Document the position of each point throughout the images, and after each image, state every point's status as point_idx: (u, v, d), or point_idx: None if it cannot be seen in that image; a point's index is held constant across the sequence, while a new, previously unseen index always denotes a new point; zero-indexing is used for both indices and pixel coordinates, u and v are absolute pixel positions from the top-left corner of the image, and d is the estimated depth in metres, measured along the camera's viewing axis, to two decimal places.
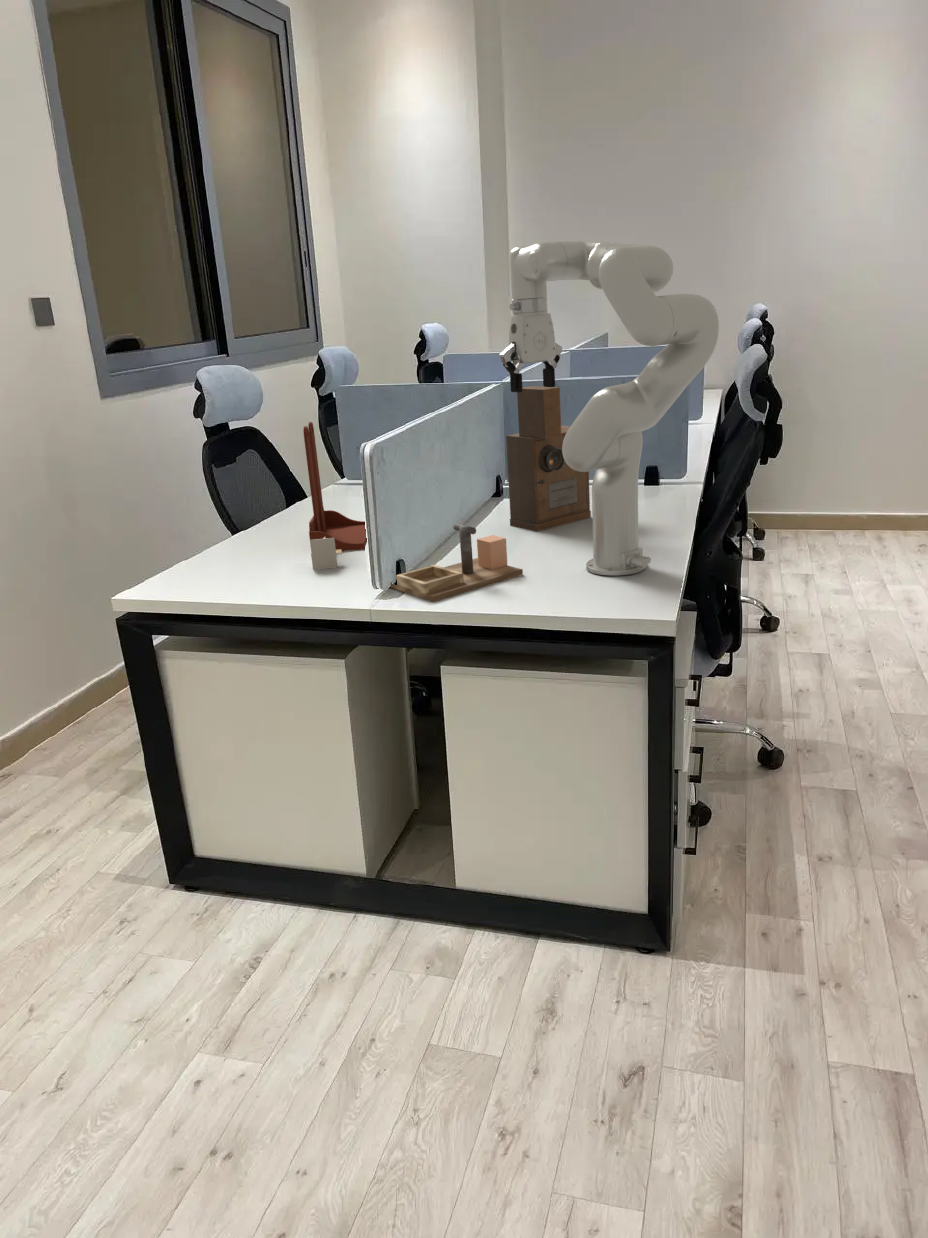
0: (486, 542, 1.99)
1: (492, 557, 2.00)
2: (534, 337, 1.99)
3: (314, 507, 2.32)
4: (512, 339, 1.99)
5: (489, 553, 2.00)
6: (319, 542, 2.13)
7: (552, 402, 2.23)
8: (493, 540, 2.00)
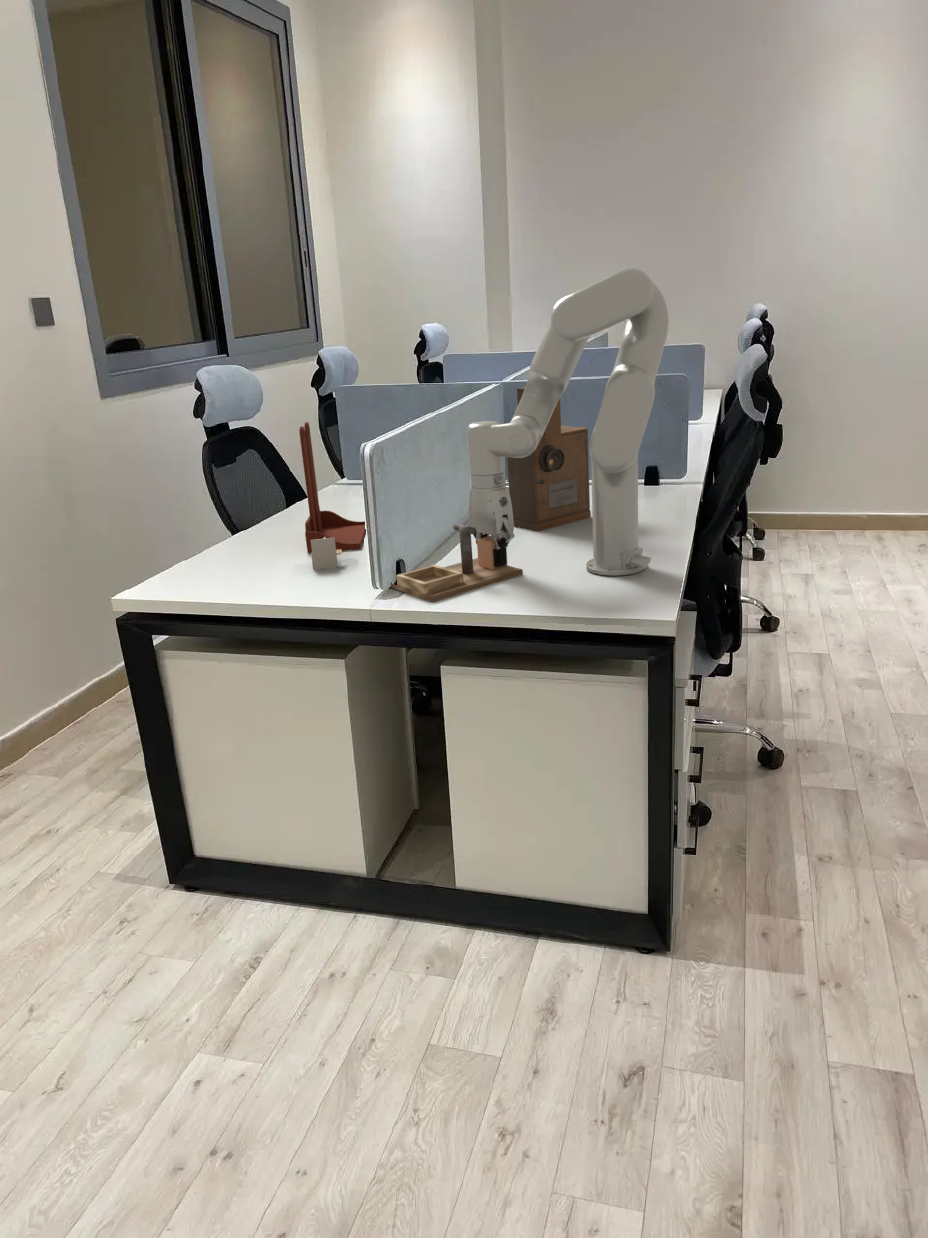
0: (486, 542, 1.99)
1: (492, 557, 2.00)
2: None
3: (310, 507, 2.32)
4: (503, 512, 1.95)
5: (489, 553, 2.00)
6: (319, 542, 2.13)
7: None
8: None
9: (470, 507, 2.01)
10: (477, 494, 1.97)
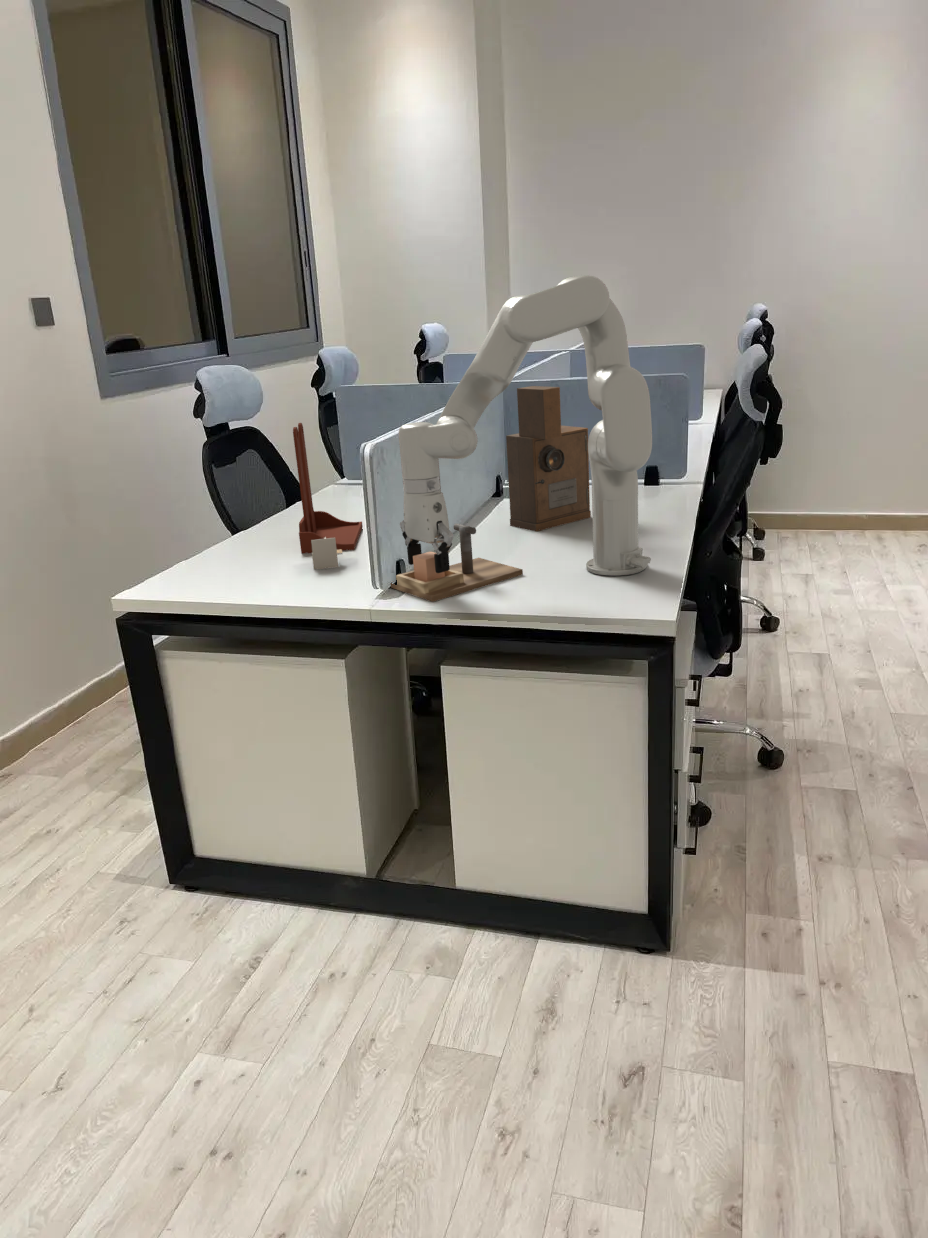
0: (422, 559, 1.90)
1: (428, 575, 1.90)
2: None
3: (304, 508, 2.32)
4: (437, 518, 1.85)
5: (425, 571, 1.90)
6: (320, 542, 2.13)
7: (552, 402, 2.23)
8: (429, 557, 1.90)
9: (404, 513, 1.91)
10: (410, 499, 1.87)
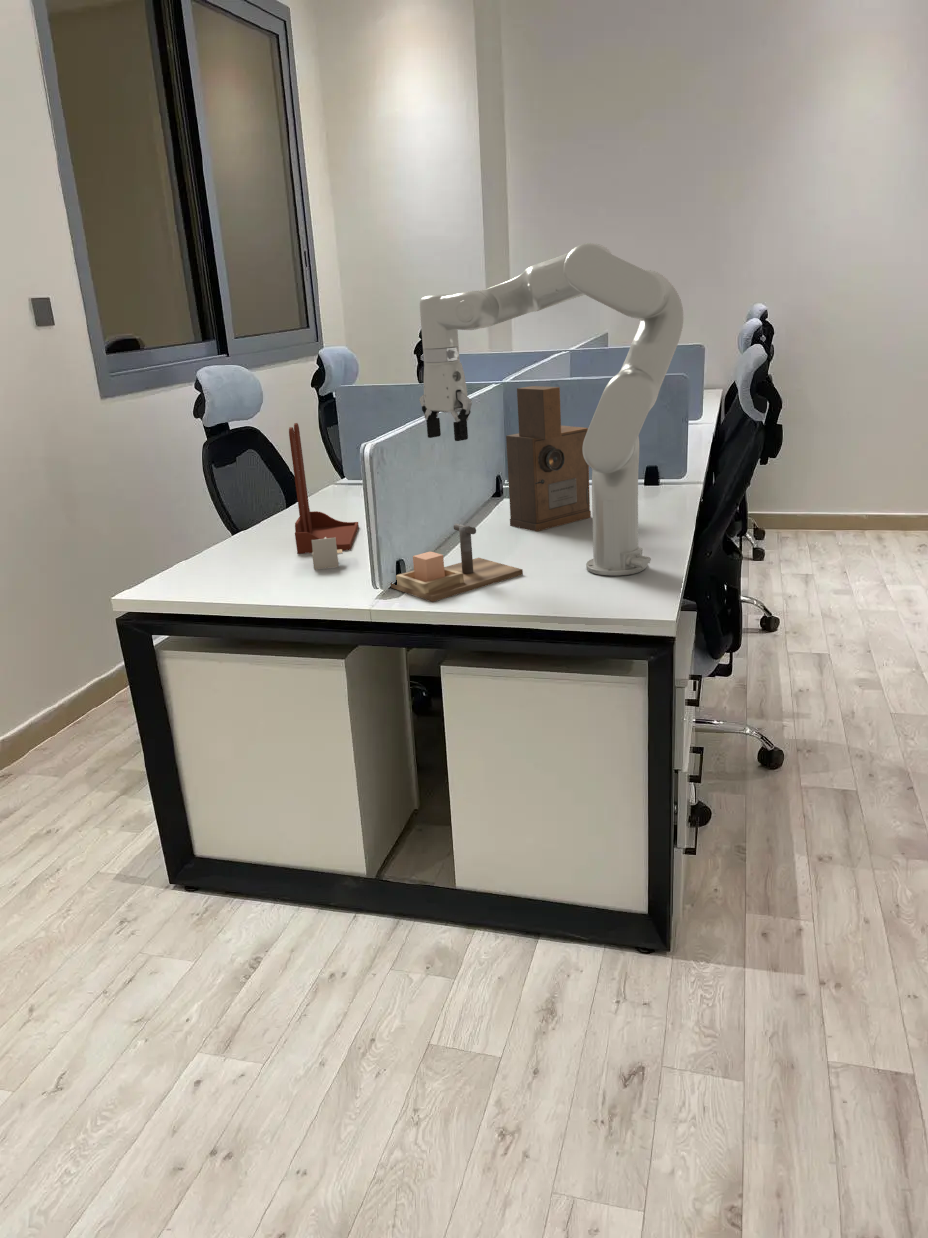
0: (422, 559, 1.90)
1: (428, 575, 1.90)
2: None
3: (300, 508, 2.32)
4: (456, 387, 1.94)
5: (425, 571, 1.90)
6: (320, 542, 2.13)
7: (552, 402, 2.23)
8: (429, 557, 1.90)
9: (424, 385, 1.99)
10: (430, 370, 1.96)
